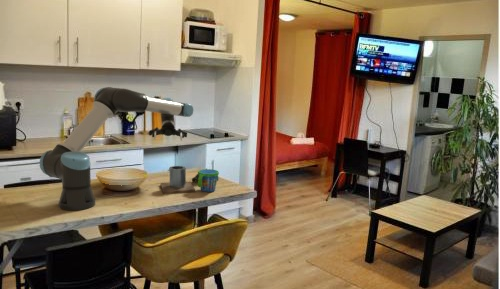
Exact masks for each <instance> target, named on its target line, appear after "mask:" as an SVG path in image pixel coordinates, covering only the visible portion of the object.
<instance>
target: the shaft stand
mask: <svg viewBox="0 0 500 289" xmlns="http://www.w3.org/2000/svg"><path fill="white" fill-rule="evenodd" d="M160 188H161V190H162V194H163V195H167V194H183V193H196V188H195V187H194V185H193V184H192V182H191V181H186V187H184V188H178V189H176V188H171V187H170V182H160Z"/></svg>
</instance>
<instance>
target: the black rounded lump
mask: <svg viewBox="0 0 500 289" xmlns="http://www.w3.org/2000/svg"><path fill="white" fill-rule="evenodd" d="M202 170H204V169H202ZM198 178H199V175H198V173H197V174H196V175H195V176H194V177H192V178H191V181H192V182H193V183H195V182H196V181H197V182H198Z"/></svg>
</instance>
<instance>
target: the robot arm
mask: <svg viewBox="0 0 500 289" xmlns="http://www.w3.org/2000/svg"><path fill="white" fill-rule="evenodd" d="M92 106H93V107H92V108H91V110H90V111H88V112H87V115H86V116H84V118H83V119H82V120H81V121H80V123H79V124H77V126H76V128H74V129H73V131H72V132H71V133H70V134H69V136H68V137H67V138H66V139H65V140H64V142H62V143H58V144H56V145H55V147H54V148H52V150H51V149H50V150H46V151H45V152H43V153H42V154H41V156H40V158H39V168H40V170H41V172H42V173H43V174H45V175H47V176H49V177H51V178H55V179H59V180H61V184H62V186H61V187H62V188H61V189H62V191H61V194H60V197H59V200H58V208H59V209H61V210H63V209H64V210H65V211H82V210H86V209H89V208H90V209H91V208H92V207H95V205H96V197H95V194H94V193H93V190H92V185H91V184H92V183H91V182H92V181H91V180H92V179H91V160H90V156H89V155H88V154H87V153H84V152H82V151H83V149H85V147H86V146H87V145H88V143H89V142H90V141H91V140H92V138H93V137H94V136H95V135H96V134H97V132H98V131H99V129H101V127H102V126H103V125H104V124H105V122H106V121H107V120H108V119H112V118H113V117H114V116H115V115H116V114H117V113H118V112H120V113H129V112H130V113H131V112H132V113H144V112H150V113H151V112H152V113H158V114H160V116H161V117H160V120H161V122H160V123H161V128H159V127H157V126H156V127H155V128H152V129H149V130H148V136H152V138H153V139H154V140H156V138H157V136H161V135H162V136H166V137H170V136H177V137H179V139H180V141H181V142H182V141H183V139H184V138H188V132H186V131H185V130H182V129H181V128H178V129H176V127H175V125H176V123H175V116H176V117H177V116H178V117H183V118H185V117H186V118H189V117H191V116H192V115H193V114H194V106H193V105H192V104H191V103H188V102H187V103H186V102H179V101H175V100H173V98H172V97H162V98H158V97H152V96H148V95H147V94H145V93H142V92H138V91H134V90H131V89H128V88H119V87H113V86H112V87H111V86H108V87H107V86H105V87H102V88H100V89H98V90H97V91H96V93H95V94H94V99H93V102H92Z"/></svg>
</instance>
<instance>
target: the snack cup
mask: <svg viewBox="0 0 500 289" xmlns="http://www.w3.org/2000/svg"><path fill="white" fill-rule="evenodd" d="M197 174H198V175H199V178H198V181H197V187H199V188H200V190H201V191H202V192H207V193H208V192H209V193H210V192H211V193H212V192H214V191H216V188H217V187H216V186H217V182H219V174H220V173H219V170H217V169H212V168H211V169H210V168H205V169H204V170H203V169H199V170H198V171H197Z"/></svg>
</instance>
